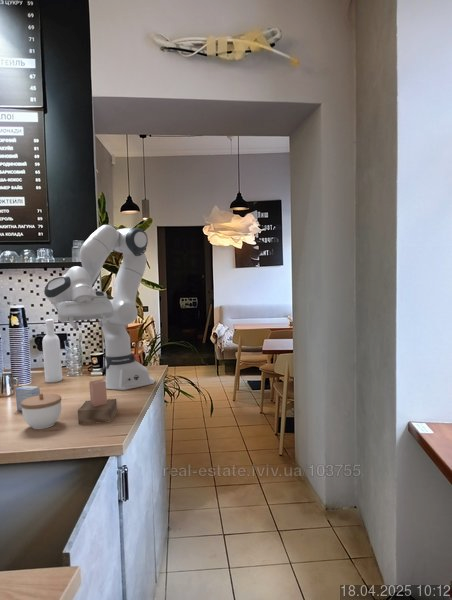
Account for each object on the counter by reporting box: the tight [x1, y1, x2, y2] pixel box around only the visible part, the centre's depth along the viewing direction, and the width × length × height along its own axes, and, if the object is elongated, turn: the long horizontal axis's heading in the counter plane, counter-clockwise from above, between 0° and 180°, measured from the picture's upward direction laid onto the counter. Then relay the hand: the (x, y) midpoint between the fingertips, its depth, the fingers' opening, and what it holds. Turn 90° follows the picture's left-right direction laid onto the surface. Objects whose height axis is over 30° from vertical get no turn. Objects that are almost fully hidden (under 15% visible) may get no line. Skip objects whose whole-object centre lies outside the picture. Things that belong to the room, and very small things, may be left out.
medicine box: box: [14, 385, 41, 412], centre depth 162 cm, size 8×4×9 cm, turn 71°
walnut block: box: [77, 398, 118, 425], centre depth 150 cm, size 11×11×5 cm
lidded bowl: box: [21, 392, 62, 430], centre depth 144 cm, size 13×13×11 cm
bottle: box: [41, 318, 63, 384], centre depth 205 cm, size 8×8×30 cm
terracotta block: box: [88, 379, 108, 407], centre depth 150 cm, size 4×4×8 cm
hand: (89, 326), depth 157 cm, fingers open, 8 cm apart
